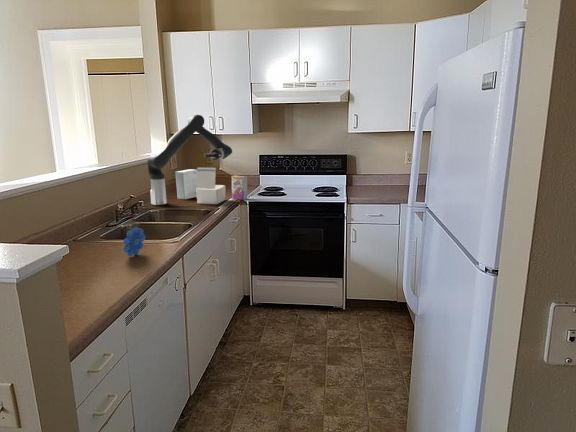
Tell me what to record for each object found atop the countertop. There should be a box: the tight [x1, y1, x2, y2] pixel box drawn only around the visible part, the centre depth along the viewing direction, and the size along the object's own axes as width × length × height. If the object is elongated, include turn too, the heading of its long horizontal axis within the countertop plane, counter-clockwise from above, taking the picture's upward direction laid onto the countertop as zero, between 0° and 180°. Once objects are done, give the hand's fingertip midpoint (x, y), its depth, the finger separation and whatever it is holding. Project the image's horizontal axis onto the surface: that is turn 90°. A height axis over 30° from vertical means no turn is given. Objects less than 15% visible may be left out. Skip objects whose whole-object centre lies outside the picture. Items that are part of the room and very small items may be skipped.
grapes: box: [123, 226, 146, 257], centre depth 177 cm, size 12×7×12 cm, turn 154°
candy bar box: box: [230, 175, 249, 201], centre depth 300 cm, size 11×5×16 cm, turn 57°
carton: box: [195, 184, 226, 205], centre depth 292 cm, size 17×16×10 cm
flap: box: [196, 166, 217, 189], centre depth 281 cm, size 1×13×14 cm, turn 79°
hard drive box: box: [174, 168, 197, 200], centre depth 306 cm, size 16×8×20 cm, turn 149°
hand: (207, 156), depth 282 cm, fingers closed
